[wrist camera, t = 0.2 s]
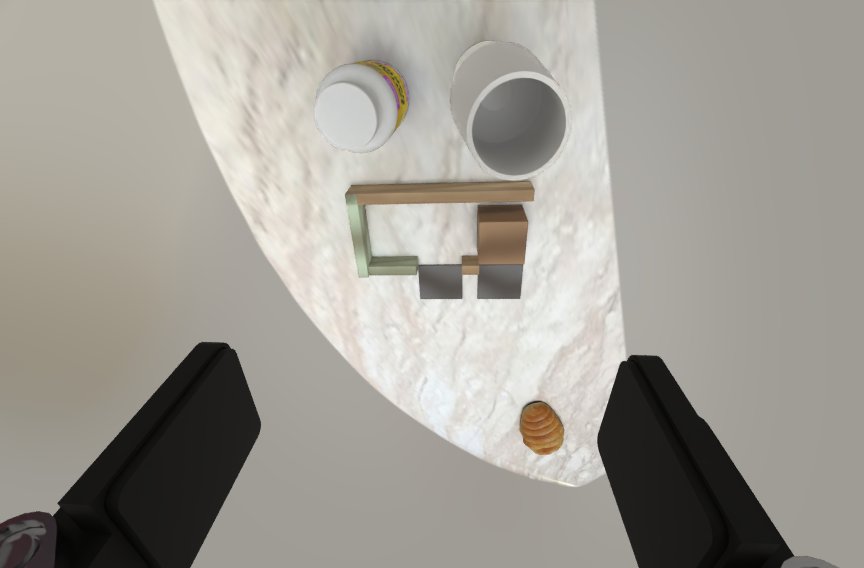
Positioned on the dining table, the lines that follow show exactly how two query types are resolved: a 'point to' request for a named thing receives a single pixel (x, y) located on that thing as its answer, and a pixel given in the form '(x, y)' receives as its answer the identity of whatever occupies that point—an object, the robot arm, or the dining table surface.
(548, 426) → the pastry
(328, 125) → the supplement bottle
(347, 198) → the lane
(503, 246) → the block
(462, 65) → the champagne flute
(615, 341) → the dining table surface
